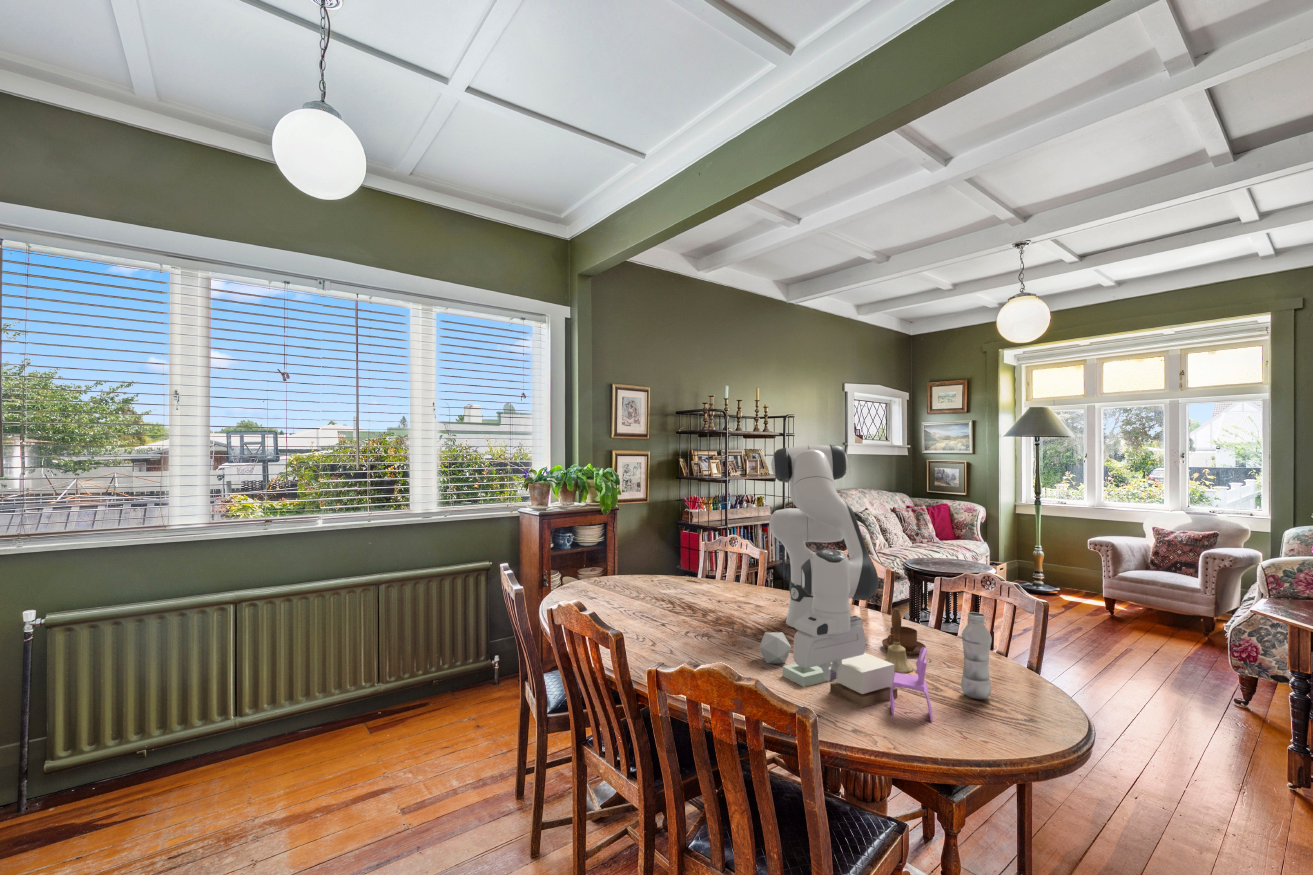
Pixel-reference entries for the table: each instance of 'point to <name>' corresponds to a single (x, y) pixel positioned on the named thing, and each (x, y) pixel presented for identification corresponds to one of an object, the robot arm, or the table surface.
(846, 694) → the pattern board
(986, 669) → the plastic bottle
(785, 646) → the die
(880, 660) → the white block
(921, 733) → the table surface
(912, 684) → the toy chair
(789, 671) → the socket board
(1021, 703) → the table surface
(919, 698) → the table surface
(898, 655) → the hand bell
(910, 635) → the cup and saucer
